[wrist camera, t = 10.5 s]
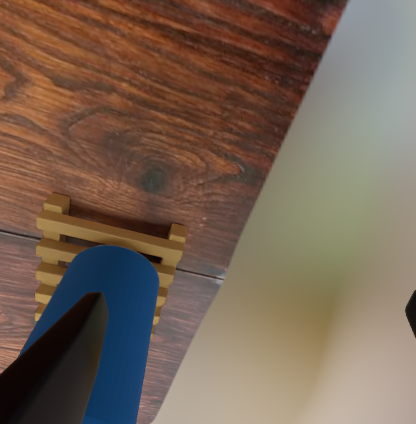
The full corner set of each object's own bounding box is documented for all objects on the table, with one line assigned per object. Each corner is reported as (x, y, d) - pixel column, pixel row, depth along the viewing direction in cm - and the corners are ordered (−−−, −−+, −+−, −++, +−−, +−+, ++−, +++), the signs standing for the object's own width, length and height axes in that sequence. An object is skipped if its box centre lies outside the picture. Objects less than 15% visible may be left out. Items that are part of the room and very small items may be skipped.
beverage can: (140, 311, 24) (95, 515, 14) (62, 284, 22) (-55, 496, 12) (175, 259, 21) (150, 472, 11) (88, 223, 19) (-37, 438, 9)
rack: (52, 192, 21) (36, 210, 19) (186, 226, 23) (185, 246, 21) (44, 369, 33) (33, 393, 31) (132, 382, 35) (127, 405, 33)
